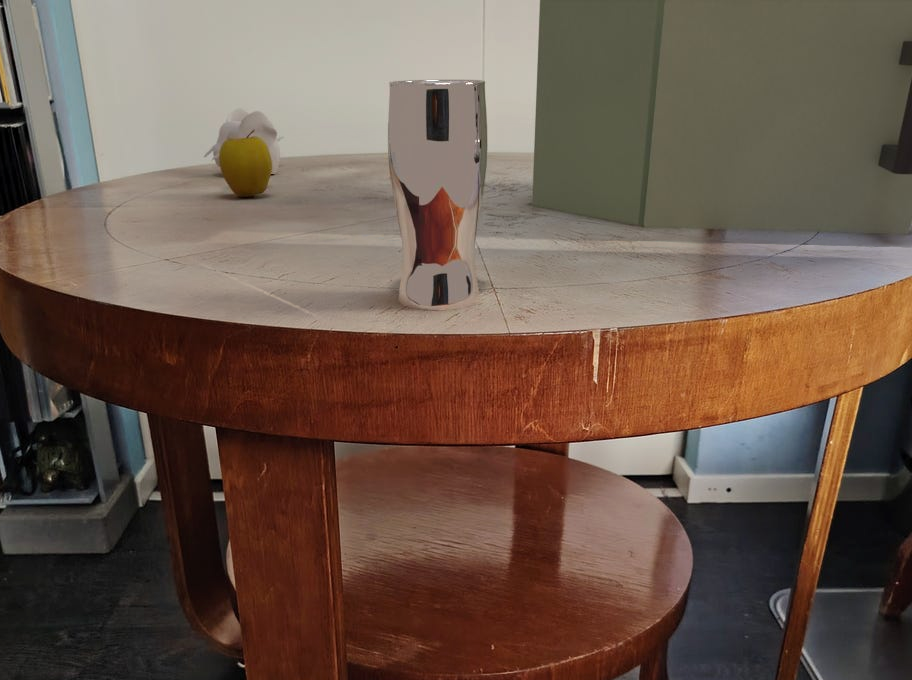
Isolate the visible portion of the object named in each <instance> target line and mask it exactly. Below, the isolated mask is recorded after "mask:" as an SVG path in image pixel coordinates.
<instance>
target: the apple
mask: <svg viewBox="0 0 912 680" xmlns="http://www.w3.org/2000/svg"><path fill="white" fill-rule="evenodd" d="M253 132H254V130H253V131H252V132H251V133H250V134H249V135H248V136H247V137H246V138H241V139H233V138H231V139H228V140H226V141H225V142H224V143H223V144H222V146H221V148H220V153H219V163H220V167H219V168H220V171H221V174H222V176H223V179H224V180H225V182H226V184H227V186H228V187H229V188H230V190H231V191H232V192H233V193H234V194H235V195H236V196H237V197H238V198H246V197H254V196H255V195H260V194H263V193H264V192H266V190H267V188H268V185H269V183H270V182H269V181H270V178H271V176H272V175H271V172H272V160H271V156H270V153H269V150H268V147H267V145H266V144H265V142H264V141H263V140H262V139H260V138H259V137H255V136H253V137H250V138H249V136H250V135H251V134H252V133H253Z"/></svg>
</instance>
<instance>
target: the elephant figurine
mask: <svg viewBox="0 0 912 680" xmlns="http://www.w3.org/2000/svg"><path fill="white" fill-rule="evenodd" d="M253 130H254V132H253V133H252V134H251V135H250V136H249V138H250V137H253V136H255V137H259V138H260V139H262V140H263V141H264V142H265V144H266V145H267V147H268V150H269V153H270V156H271V160H272V172H271V174H274V175H276V174H277V172H278V169H279V167H280V162H281V151H280V146H279V143H278V142H279V141H281V140H282V139H284V138H285V136H284V135H281V136H278V132H277V129H276V128H275V127H274V124H273V122H272V121H271V119H270V118H269V117H268V116H267V115H265V114H264V113H263V112H262V111H258V110H255V111H252V112H251V113H249V112H248V111H247V110H245V109H243V108H235V109H233V110H231V111H230V112H229V113H228V114H227V117H226V121H225V122H223V124H222V125H221V126H220V128H219V131H218V137H217V140H216V143H215V144H214V145H213V146H212V147H211V148H210V149H209V150H208V151H206V153H205V154H204V156H203V158H207V157H208V156H209V155H211V153H212V155H213V157H212V158H211V162H212V161H214V162H215V164H216V166H218V167H219V168H220V163H219V153H220V148H221V146H222V144H223V143H224V142H225V141H226V140H228V139H231V138H233V139H241V138H246V137H247V136H248V135H249V134H250V133H251V132H252V131H253Z"/></svg>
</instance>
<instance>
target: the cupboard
mask: <svg viewBox="0 0 912 680" xmlns="http://www.w3.org/2000/svg"><path fill="white" fill-rule="evenodd" d="M664 2H665V0H539V12H538V14H539V15H538V42H537V63H536V64H537V66H536V67H537V68H536V69H537V71H536V90H535V92H536V93H535V95H536V96H535V120H534V141H533V142H534V143H533V144H534V146H533V171H532V172H533V173H532V195H531V196H532V197H531V198H532V199H531V205H532V206H534V207H539V208H546V209H550V210H554V211H560V212H564V213H565V212H566V213H571V214H575V215H580V216H581V215H582V216H586V217H590V218H596V219H602V220H607V221H613V222H618V223H621V224H628V225H633V226H644V216H645V205H646V194H647V184H648V173H649V162H650V152H651V141H652V130H653V120H654V109H655V98H656V88H657V77H658V66H659V56H660V45H661V34H662V24H663V13H664Z"/></svg>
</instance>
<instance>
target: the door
mask: <svg viewBox="0 0 912 680" xmlns="http://www.w3.org/2000/svg"><path fill="white" fill-rule="evenodd" d="M911 226H912V0H665V2H664V13H663V24H662V34H661V45H660V56H659V66H658V77H657V88H656V98H655V109H654V120H653V130H652V141H651V152H650V162H649V173H648V184H647V194H646V205H645V216H644V225H643V228H645V229H684V230H685V229H689V230H725V231H726V230H729V231H736V230H737V231H771V232H773V231H774V232H809V233H810V232H813V233H814V232H816V233H818V232H819V233H854V234H855V233H859V234H897V235H898V234H900V235H902V234H903V235H905V234H906V235H909V234H910V231H911Z"/></svg>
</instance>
